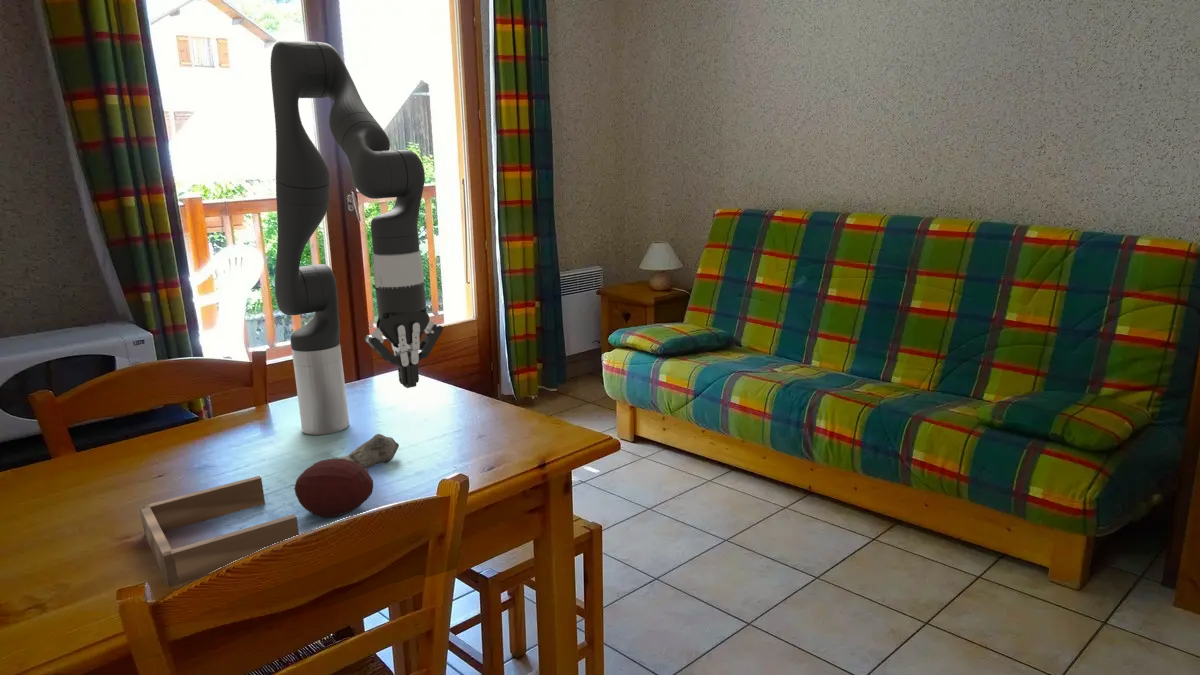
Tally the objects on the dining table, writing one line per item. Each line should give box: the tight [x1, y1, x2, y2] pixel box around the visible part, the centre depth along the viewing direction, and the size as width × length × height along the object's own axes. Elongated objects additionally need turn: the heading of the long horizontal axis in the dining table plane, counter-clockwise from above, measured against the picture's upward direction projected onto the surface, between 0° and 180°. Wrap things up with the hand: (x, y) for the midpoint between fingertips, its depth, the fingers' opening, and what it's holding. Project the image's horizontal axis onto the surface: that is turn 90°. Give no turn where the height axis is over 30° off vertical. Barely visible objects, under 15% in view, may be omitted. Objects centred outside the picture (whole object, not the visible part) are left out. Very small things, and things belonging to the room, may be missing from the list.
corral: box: [139, 475, 300, 588], centre depth 119 cm, size 19×17×4 cm
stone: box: [338, 433, 400, 470], centre depth 145 cm, size 10×5×8 cm
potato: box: [293, 458, 374, 518], centre depth 127 cm, size 12×11×8 cm
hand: (409, 386), depth 132 cm, fingers closed
